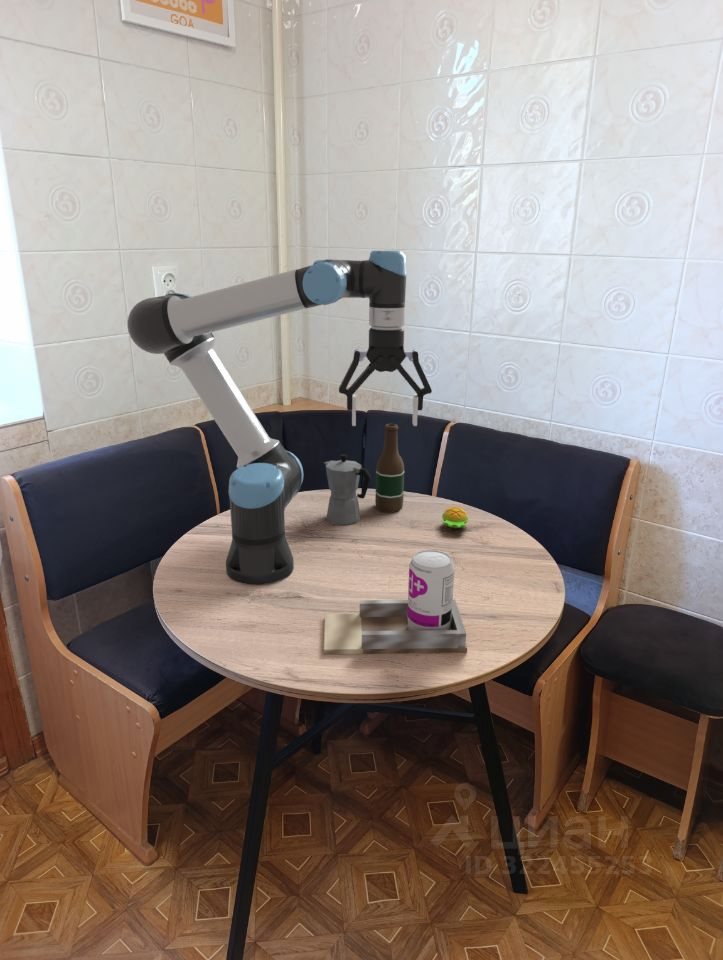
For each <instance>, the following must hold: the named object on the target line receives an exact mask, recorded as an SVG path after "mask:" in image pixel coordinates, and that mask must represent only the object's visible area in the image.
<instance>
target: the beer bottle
mask: <svg viewBox="0 0 723 960" xmlns="http://www.w3.org/2000/svg"><path fill="white" fill-rule="evenodd" d="M383 429H384V439H383V440H384V443H383V449H382V450H383V451H382V454H381V455H380V457H379V458H378V460H377V463H376V467H375V497H374V498H375V502H374V503H375V508H376V509H377V510H378V511H380V512H383V513H387V514H392V513H396V512H400V511H401V510H402V508H403V505H404V496H405V495H404V490H405V464H404V461H403V458H402V456H401V455H400V453H399V449H398V448H399V447H398V444H399V443H398V441H399V440H398V430H399V427H398V424H395V423H387V424H385V425H384V428H383Z"/></svg>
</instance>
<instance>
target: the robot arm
mask: <svg viewBox="0 0 723 960" xmlns="http://www.w3.org/2000/svg"><path fill="white" fill-rule="evenodd" d="M406 261H407V257H406V253H404V252H403V251H402V250H371V252H370V254H369V258H368V259H365V260H364V259H363V260H353V259H352V260H349V259H332V258H331V259H330V258H328V259H317V260H315V261H314V262H313V264H312V265H311V264H310V265H308V266H305V267H304V266H303V267H300V268H298V269H292V270H288V271H285V272H282V273H277V274H274V275H273V274H272V275H270V276H266V277H262V278H259V279H255V280H251V281H246V282H243V283H240V284H235V285H232V286H228V287H225V288H219V289H216V290H213V291H209V292H205V293H201V294H198V295H193V296H191V295H189V294H185V293H177V292H173V293H166V294H165V295H161V296H159V295H158V296H155V297H149V298H144V299H143V300H141V301H138V302H137V303H136V304H135V305H134V306H133V307H132V308H131V310H130V312H129V314H128V318H127V330H128V333H129V337H130V339H131V340H132V342H133V343H134V344H135V345H136V346H137V347H138V348H139V349H140V350H142V351H144V352H147V353H150V354H152V355H153V354H154V355H161V354H162V355H164V356H165V358H166V359H167V361H168V362H169V364H170V366H174V367H178V368H180V369H181V370H182V372H183V373H184V375H185V377H186V378H187V379H188V381H189V383H190V385H191V386H192V388H193V389H194V390H195V392H196V393H197V395H198V397H199V398H200V400H201V401H202V403H203V405H204V406H205V408H206V409H207V410H208V413H209V414H210V415H211V417H212V418H213V420H214V421H215V423H216V425H217V426H218V428H219V429H220V431H221V432H222V434H223V436H224V438H225V439H226V440H227V442H228V443H229V445H230V446H231V448H232V450H233V451H234V452H235V454H236V455H237V462H236V463H237V464H236V469H235V470H234V471H233V472H231V474H230V477H229V481H228V491H227V492H228V496H229V497H228V498H229V510H230V523H231V524H230V525H231V537H232V538H231V542H230V543H231V544H230V546H229V550H228V553H227V557H226V561H225V569H226V570H225V571H226V575H227V576H228V578H229V579H230V580H232V581H235V582H237V583H238V584H239V583H240V584H242V585H243V584H244V585H253V586H257V585H268V584H273V583H277V582H279V581H282V580H284V579H286V578H287V577H289V576H290V575H291V574H292V573H293V571H294V568H295V567H294V565H295V563H294V562H295V561H294V555H293V553H292V550H291V548H290V545H289V543H288V540H287V538H286V529H285V527H286V526H285V525H286V524H285V510H286V508H287V507H288V505H289V504H290V502H291V501H292V500H293V498H295V497H296V495H298V493H299V491H300V490H301V487H302V486H301V485H302V484H303V480H304V469H303V465H302V462H301V461H300V459H299V458H298V457H297V456H296V455H295V454H294V453H292V452H291V451H288V450H286V449H285V448H284V446H283V445H282V443H281V441H280V440H279V439H275V438H271V437H270V436H269V434H268V433H267V432H266V430H265V428H264V426H263V425H262V423H261V422H260V420H259V419H258V417H257V416H256V414H255V412H254V411H253V409H252V407H251V406H250V404H249V402H248V401H247V399H246V398H245V396H244V395H243V393H242V392H241V390H240V389H239V386H238V385H237V384H236V382H235V380H234V379H233V377H232V376H231V374H230V372H229V371H228V369H227V368H226V366H225V364H224V363H223V361H222V360H221V358H220V357H219V354H218V353H217V352H216V350H215V347H214V346H215V343H216V338H215V335H214V334H213V333H214V332H217V331H218V332H219V331H221V330H225V329H230V328H235V327H238V326H242V325H246V324H249V323H253V322H258V321H261V320H265V319H271V318H273V317H278V316H281V315H286V314H290V313H293V312H298V311H301V310H306V309H309V308H310V309H311V308H315V307H319V306H326V305H330V304H334V303H337V302H338V301H339V300H341V299H344V298H347V299H349V298H350V299H351V298H352V299H353V298H355V299H356V298H357V299H358V298H359V299H360V298H361V299H367V298H368V301H369V305H368V306H369V307H368V325H369V326H370V328H369V329H368V348H367V350H366V351H364V350H359V349H355V350H354V351H353V359H352V361H351V363H350V365H349V367H348V368H347V371H346V373H345V375H344V377H343V378H342V381H341V383H340V385H339V387H338V393H340V394H342V395H345V396H346V408H347V411H351V425H352V427H356V426H357V424H356V423H357V415H356V413H357V396H356V394H355V393H356V392H357V391H358V389H359V388H360V387H361V386H362V385H363V384H364V382H366V380H367V379H368V378H369V377H370V376H371V375H372V374H373V373H374V371H377V372H379V373H383V372H389V373H393V372H395V371H396V370H397V371H398V372H399V375H401V376H402V378H404V380H405V382H407V383H408V385H409V386H410V387H411V388H412V389H413V391H414V392H415V393H416V394H415V393H414V394H413V395H412V396H413V400H412V420H411V421H412V422H411V423H412V425H413V427H417V426H418V413H419V411H422V410H423V408H424V397H425V395H428V394H429V395H430V394H432V391H433V390H432V387H431V385H430V384H429V381H428V378H427V377H426V375H425V373H424V370H423V367H422V365H421V363H420V362H419V352H418V350H416V349H412V350H411V351H410V350H409V351H408V350H407V351H405V346H404V345H405V343H404V342H405V330H404V328H403V327H404V326H405V317H406V316H405V313H406V312H405V311H406V310H405V309H406V308H405V307H406V288H407V262H406ZM364 358H366V359H367V360H368V362H370V363H368V365H367V366H366V367H365V369H364V370H363V371H362V372H361V374H360V375H359V376H358V377H357V378H356V379H355V380H354V381H353V383H352V384H351V385H350V386H349V383H350V381H351V380H352V377H353V375H354V374H355V373H356V372H355V371H356V369H357V368H358V366H359V362H362V361H363V360H364ZM406 358H407V359H408V360H409V361H410V362H412V365H413V367H414V368H415V370H416V372H417V375H418V378H419V379H420V382H421V384H422V385H423V387H422V388H421V387H420V386H419V385H418V383H417V382H416V381H415V380H414V378H413V377H412V376H411V375H410V374H409V372H408V371H407V369H406V368H405V367H404V366H403V364H402V363H403V362H404V360H405V359H406ZM348 386H349V387H348Z"/></svg>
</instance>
